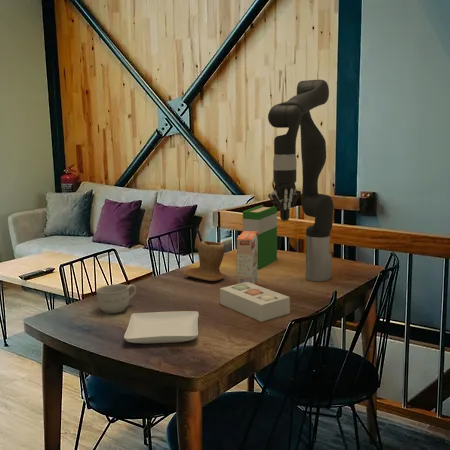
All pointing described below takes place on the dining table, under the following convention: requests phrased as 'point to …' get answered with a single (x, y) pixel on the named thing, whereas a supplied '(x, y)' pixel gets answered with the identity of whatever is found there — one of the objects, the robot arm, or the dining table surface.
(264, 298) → the ivory button
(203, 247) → the brown boot
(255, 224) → the hardback book
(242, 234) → the cracker box
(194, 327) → the salad plate
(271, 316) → the console
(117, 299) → the teacup
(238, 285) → the sage button
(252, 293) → the terracotta button
